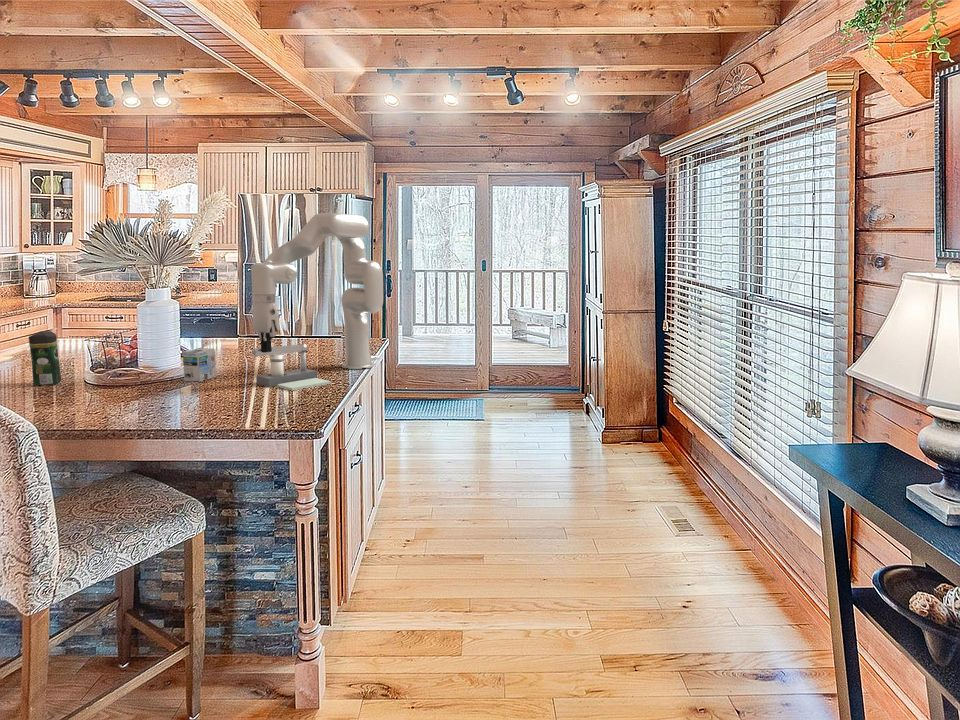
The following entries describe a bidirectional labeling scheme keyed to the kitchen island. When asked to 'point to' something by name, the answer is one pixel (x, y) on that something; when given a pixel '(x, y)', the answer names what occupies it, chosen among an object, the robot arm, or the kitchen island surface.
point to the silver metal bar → (282, 350)
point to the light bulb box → (199, 364)
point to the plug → (277, 365)
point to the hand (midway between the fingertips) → (266, 351)
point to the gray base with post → (288, 375)
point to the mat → (303, 384)
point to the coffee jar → (44, 358)
